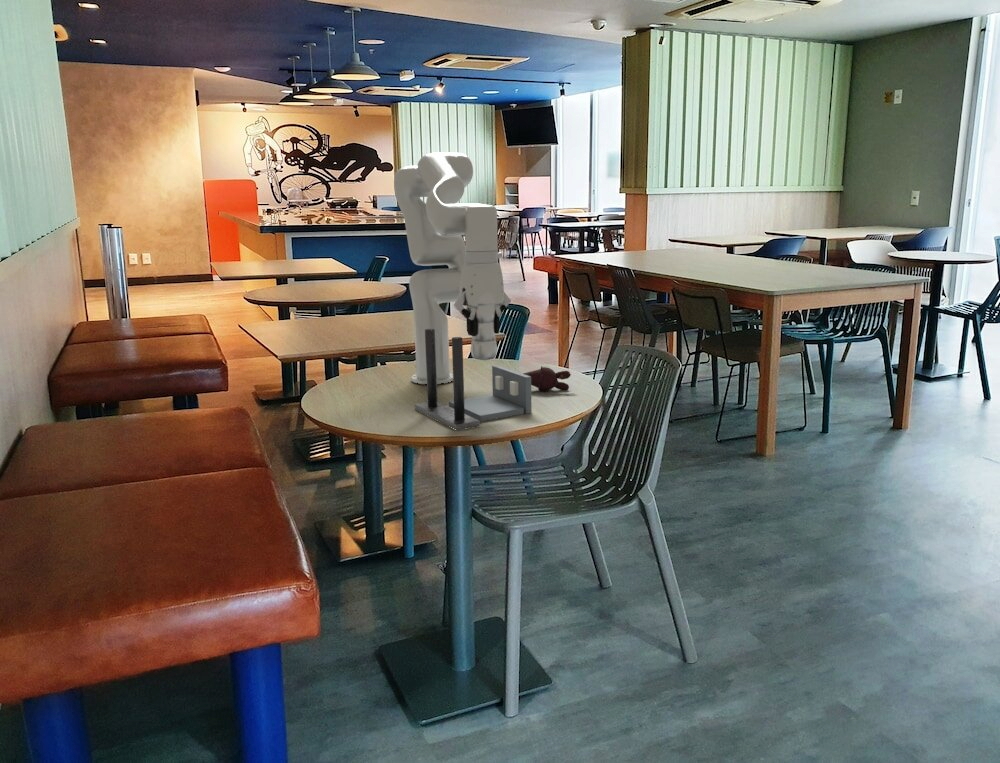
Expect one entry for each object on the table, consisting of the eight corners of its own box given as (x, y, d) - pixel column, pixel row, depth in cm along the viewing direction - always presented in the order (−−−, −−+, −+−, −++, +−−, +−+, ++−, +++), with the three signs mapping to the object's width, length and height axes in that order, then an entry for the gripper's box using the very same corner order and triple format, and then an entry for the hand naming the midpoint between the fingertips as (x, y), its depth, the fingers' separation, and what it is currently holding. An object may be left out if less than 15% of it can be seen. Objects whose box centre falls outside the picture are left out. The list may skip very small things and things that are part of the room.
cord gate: (415, 409, 199) (411, 328, 194) (436, 406, 202) (433, 326, 197) (456, 431, 181) (453, 342, 176) (479, 426, 184) (477, 339, 179)
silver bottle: (500, 357, 196) (499, 275, 192) (493, 363, 190) (492, 279, 185) (474, 356, 198) (473, 275, 193) (467, 362, 191) (465, 278, 187)
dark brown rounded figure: (514, 371, 210) (571, 376, 209) (516, 358, 217) (571, 363, 216) (512, 394, 213) (568, 399, 213) (514, 381, 220) (568, 386, 219)
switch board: (449, 407, 200) (447, 372, 198) (497, 399, 207) (497, 365, 205) (480, 421, 187) (479, 384, 185) (531, 412, 194) (531, 376, 192)
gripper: (504, 255, 195) (505, 328, 200) (442, 259, 187) (444, 335, 191) (521, 257, 189) (521, 332, 193) (457, 261, 181) (459, 340, 185)
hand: (483, 333), depth 192 cm, fingers closed on silver bottle, 5 cm apart
